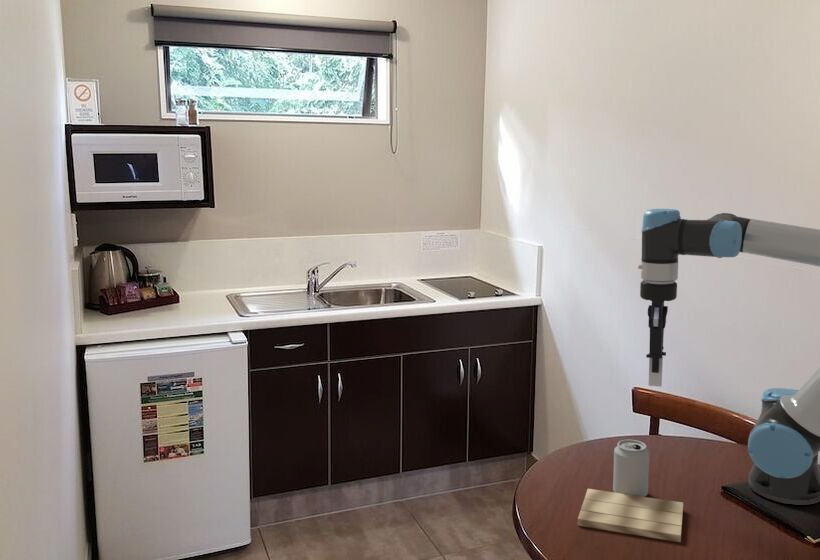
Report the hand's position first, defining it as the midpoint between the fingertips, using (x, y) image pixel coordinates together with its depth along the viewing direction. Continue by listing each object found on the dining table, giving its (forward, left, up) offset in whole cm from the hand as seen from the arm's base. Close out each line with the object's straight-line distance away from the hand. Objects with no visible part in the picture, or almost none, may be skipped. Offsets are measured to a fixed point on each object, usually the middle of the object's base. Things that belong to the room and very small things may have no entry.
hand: (655, 384), depth 162 cm
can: (+4, +5, -25) cm, 25 cm away
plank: (+3, +14, -24) cm, 28 cm away
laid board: (+3, +21, -24) cm, 32 cm away
